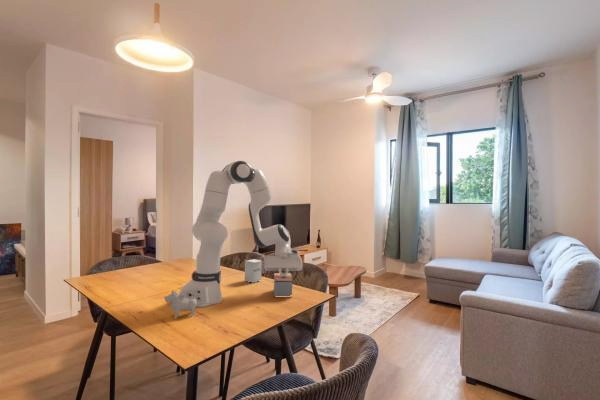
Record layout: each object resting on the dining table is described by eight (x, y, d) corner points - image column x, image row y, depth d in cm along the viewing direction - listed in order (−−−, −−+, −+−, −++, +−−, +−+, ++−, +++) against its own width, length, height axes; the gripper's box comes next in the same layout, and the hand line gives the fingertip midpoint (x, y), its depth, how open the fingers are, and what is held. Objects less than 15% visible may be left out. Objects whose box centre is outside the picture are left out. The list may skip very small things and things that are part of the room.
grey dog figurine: (164, 315, 127) (164, 290, 127) (195, 311, 132) (196, 287, 132) (163, 320, 122) (164, 294, 122) (196, 316, 127) (197, 291, 127)
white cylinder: (252, 283, 177) (253, 262, 177) (244, 281, 182) (244, 260, 182) (261, 281, 183) (262, 260, 183) (253, 279, 188) (253, 258, 188)
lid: (274, 280, 153) (274, 279, 153) (274, 275, 166) (274, 273, 166) (292, 280, 154) (292, 278, 154) (290, 275, 167) (290, 273, 167)
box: (274, 297, 153) (274, 281, 153) (273, 289, 166) (274, 275, 166) (291, 297, 154) (292, 281, 154) (290, 289, 167) (290, 275, 167)
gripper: (264, 251, 161) (263, 274, 152) (302, 251, 163) (303, 273, 154) (264, 257, 166) (263, 280, 156) (300, 257, 168) (302, 280, 158)
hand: (283, 277), depth 155 cm, fingers closed, pressing on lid
